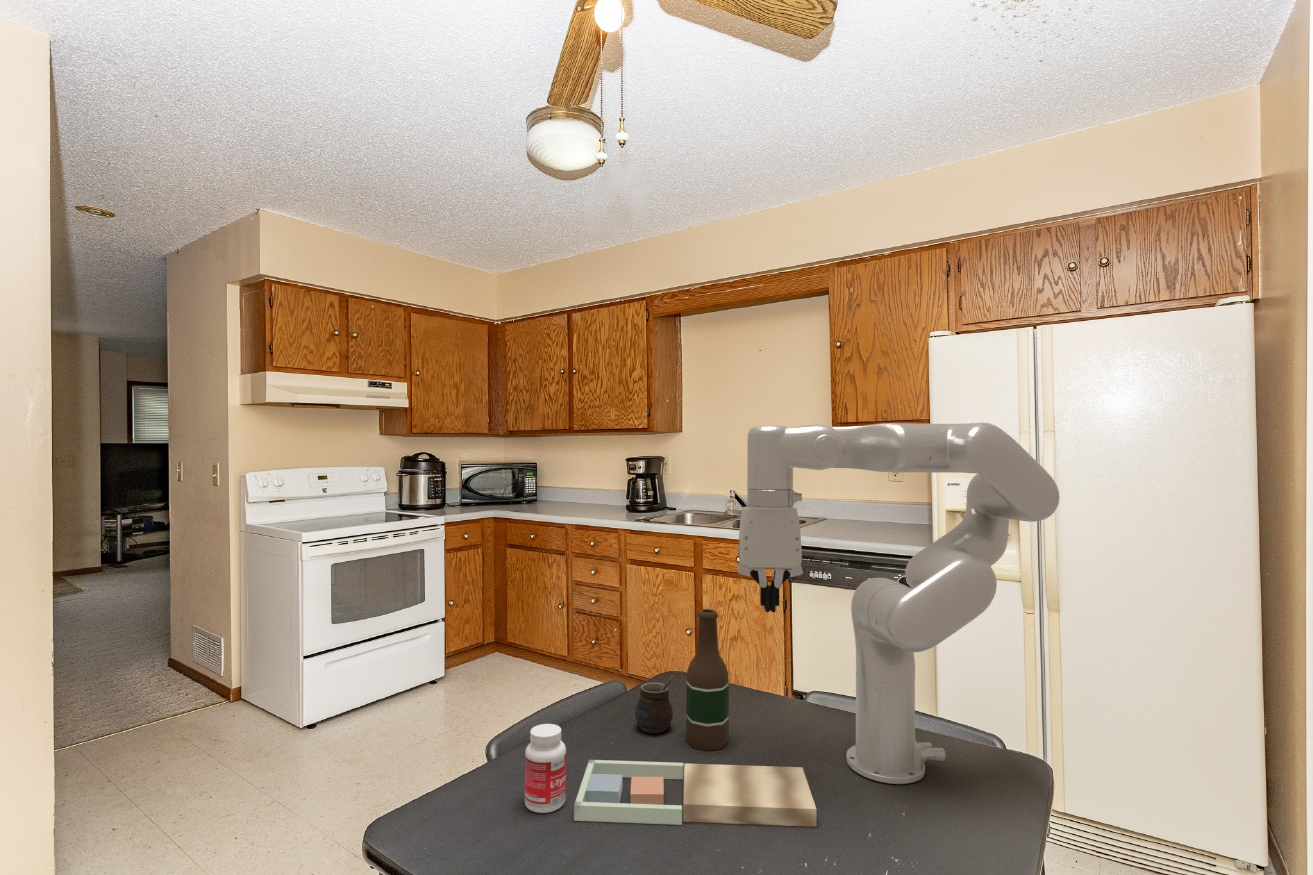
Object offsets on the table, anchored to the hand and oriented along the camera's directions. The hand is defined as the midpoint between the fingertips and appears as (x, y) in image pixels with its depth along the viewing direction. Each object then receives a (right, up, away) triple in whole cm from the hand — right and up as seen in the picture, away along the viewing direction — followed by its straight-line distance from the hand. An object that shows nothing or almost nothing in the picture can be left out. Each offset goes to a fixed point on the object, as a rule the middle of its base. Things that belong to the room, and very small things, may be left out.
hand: (769, 609), depth 107 cm
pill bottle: (-36, -27, -9) cm, 46 cm away
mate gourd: (-19, -28, +17) cm, 37 cm away
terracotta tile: (-20, -27, -8) cm, 35 cm away
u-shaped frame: (-23, -27, -8) cm, 36 cm away
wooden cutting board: (-5, -27, -9) cm, 29 cm away
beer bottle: (-9, -27, +11) cm, 31 cm away
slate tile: (-27, -25, -7) cm, 37 cm away
